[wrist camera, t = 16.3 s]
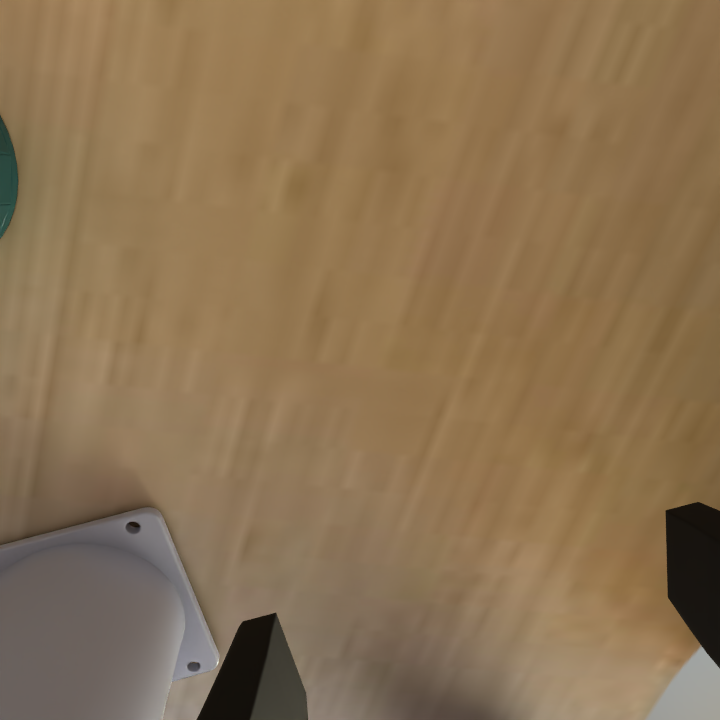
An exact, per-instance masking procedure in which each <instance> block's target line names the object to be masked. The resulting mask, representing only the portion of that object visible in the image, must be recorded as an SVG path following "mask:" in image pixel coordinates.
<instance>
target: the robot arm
mask: <svg viewBox="0 0 720 720" xmlns="http://www.w3.org/2000/svg"><path fill="white" fill-rule="evenodd" d="M129 522H136V523H138V524H139V525H140V527H133V526H131V525H130V524H129ZM666 542H667V580H668V598H669V599H670V601H671V602H672V604H673V605H674V607H675V608H676V610H677V611H678V613H679V614H680V616H681V617H682V619H683V620H684V622H685V623H686V624H687V626H688V627H689V629H690V630H691V632H692V633H693V634H694V636H695V637H696V638H697V640H698V641H699V643H700V644H701V645H702V647H703V648H704V649H705V651H706V652H707V654H708V655H709V656H710V657H711V658H712V660H713V661H714V662H715V663H716V664H717V666H718V667H719V668H720V511H719V510H716V509H714V508H712V507H709V506H707V505H704V504H702V503H699V502H696V503H692V504H689V505H685V506H681V507H677V508H673V509H670V510H666ZM218 661H219V652H218V650H217V647H216V645H215V643H214V640H213V638H212V635H211V633H210V630H209V628H208V626H207V623H206V621H205V618H204V616H203V613H202V611H201V609H200V606H199V604H198V601H197V599H196V596H195V594H194V591H193V589H192V587H191V584H190V582H189V579H188V577H187V574H186V572H185V570H184V567H183V565H182V562H181V560H180V557H179V555H178V553H177V550H176V548H175V545H174V543H173V540H172V538H171V535H170V533H169V531H168V528H167V526H166V523H165V521H164V518H163V516H162V514H161V513H160V511H158V510H157V509H155V508H152V507H144V508H140V509H137V510H133V511H129V512H125V513H121V514H117V515H114V516H110V517H106V518H102V519H98V520H95V521H91V522H87V523H83V524H79V525H75V526H72V527H68V528H64V529H60V530H56V531H53V532H49V533H45V534H41V535H37V536H33V537H30V538H26V539H22V540H18V541H14V542H11V543H7V544H3V545H0V720H162V719H163V715H164V710H165V706H166V702H167V698H168V694H169V690H170V686H171V682H173V681H176V680H180V679H183V678H187V677H191V676H194V675H198V674H201V673H205V672H208V671H211V670H213V669H215V668H216V667H217V665H218ZM191 662H197V663H191ZM197 720H308V711H307V698H306V692H305V689H304V686H303V684H302V681H301V678H300V676H299V673H298V670H297V668H296V665H295V662H294V659H293V657H292V654H291V651H290V649H289V646H288V643H287V641H286V638H285V635H284V633H283V630H282V627H281V625H280V622H279V619H278V617H277V614H276V613H273V614H270V615H266V616H262V617H258V618H254V619H251V620H247V621H243V622H242V623H241V625H240V626H239V628H238V630H237V632H236V635H235V637H234V639H233V642H232V644H231V646H230V648H229V651H228V653H227V655H226V657H225V660H224V662H223V664H222V666H221V669H220V671H219V673H218V675H217V678H216V680H215V682H214V684H213V686H212V688H211V691H210V693H209V695H208V697H207V699H206V701H205V703H204V706H203V708H202V710H201V712H200V714H199V716H198V718H197Z"/></svg>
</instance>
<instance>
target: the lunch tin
mask: <svg viewBox="0 0 720 720" xmlns="http://www.w3.org/2000/svg"><path fill="white" fill-rule="evenodd" d="M17 190H18V173H17V163H16V158H15V153H14V149H13V145H12V142H11V139H10V137H9V134H8V131H7V129H6V127H5V125H4V122H3V120H2V118H1V116H0V238H1V237H2V236H3V234H4V232H5V230H6V229H7V227H8V225H9V223H10V220H11V217H12V215H13V212H14V209H15V204H16V199H17Z"/></svg>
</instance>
